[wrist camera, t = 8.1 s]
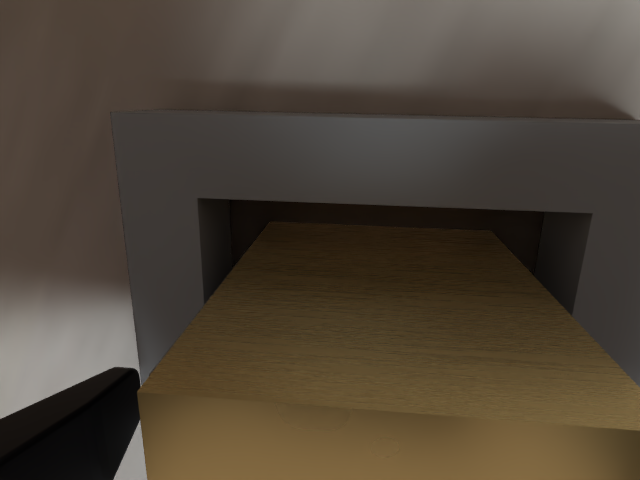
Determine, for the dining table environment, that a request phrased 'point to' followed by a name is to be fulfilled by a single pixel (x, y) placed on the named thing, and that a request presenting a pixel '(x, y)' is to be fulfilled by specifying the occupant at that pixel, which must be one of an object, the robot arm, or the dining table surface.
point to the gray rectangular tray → (379, 199)
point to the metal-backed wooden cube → (386, 368)
